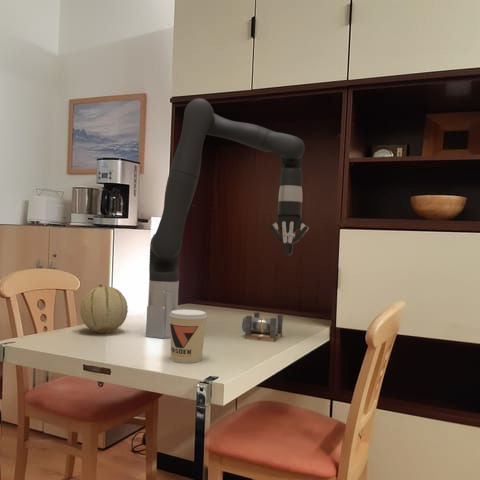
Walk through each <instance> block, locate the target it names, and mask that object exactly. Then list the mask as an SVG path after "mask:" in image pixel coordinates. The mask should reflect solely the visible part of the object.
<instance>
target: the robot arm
mask: <svg viewBox="0 0 480 480" xmlns="http://www.w3.org/2000/svg"><path fill="white" fill-rule="evenodd" d="M181 128H182V129H181V133H180V138H179V142H178V145H177V148H176V150H175V153H174V155H173V156H174V157H173V159H172V163H171V166H170V169H169V173H168V177H167V179H166V180H167V181H166V185H165V191H164V199H163V200H164V201H163V210H162V214H161V217H160V221H159V223H158V227H157V230H156V232H155V233H154V234H153V236H152V237H151V239H150V244H149V263H148V265H149V266H148V269H149V270H148V272H149V273H148V274H149V275H148V276H149V278H148V281H149V282H148V298H147V299H148V300H147V306H146V324H145V326H146V327H145V337H146V338H147V337H149V338H157V339H167V338H168V339H169V338H171V334H170V314H171V311H174V310H178V307H179V306H178V304H179V287H180V285H179V282H180V271H179V269H180V268H179V260H180V259H179V258H180V257H179V255H180V252H181V249H182V245H183V239H184V238H183V237H184V230H185V225H186V218H187V216H188V213H189V210H190V209H191V208H190V207H191V204H192V202H193V198H194V195H195V192H196V189H197V186H198V181H199V179H200V178H199V177H200V173H201V165H202V157H203V156H202V153H203V146H204V141H205V138H206V135H208V136H211V137H212V136H213V137H216V138H217V137H218V138H223V139H226V140H230V141H233V142H236V143H239V144H242V145H245V146H247V147H250V148H253V149H257V150H260V151H261V152H262V151H263V152H264V153H265V152H266V153H276V154H277V155H280V170H281V171H280V180H279V191H278V206H277V218H276V220H275V223H273V224H271V225H269V229H270V230H271V232H272V234H273V235H274V236H275V238H276V239H277V240H278V241H279V242H281V243H283V247H282V248H283V249H282V250H283V251H282V252H283V253H282V254H284V256H292V254H293V253H294V244H295V243H297V242H298V243H299V241H300V240H301V239H302V238H303V237H304V236H305V235H306V233H307V232H308V231H309V230H310V228H309V226H307V225H306V224H304V220H303V218H302V212H303V171H302V160H303V159H302V158H303V155H304V153H305V151H306V150H305V149H306V148H305V147H306V146H305V143H304V141H303V139H302V138H299V137H298V136H295V135H292V134H288V133H283V132H277V131H274V130H271V129H268V128H266V127H264V126H260V125H258V124H254V123H250V122H242V121H235V120H230V119H228V118H225V117H223V116H220V115H218V114H216V113H215V111H214V108H213V107H212V105H211V104H210V103H209V101H208V100H206V99H205V98H194V99H192V100H191V101H190V102H189V103H188V104H187V105H186V107H185V109H184V112H183V121H182V126H181ZM279 229H280V231H281V232H282V234H281V233H280V232H279ZM298 230H300V231H299V233H297V234H296V232H298Z"/></svg>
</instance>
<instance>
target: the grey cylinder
mask: <svg viewBox="0 0 480 480" xmlns="http://www.w3.org/2000/svg"><path fill="white" fill-rule="evenodd" d="M271 318H272V317H270V318H268V317H259V318H257V317H254V316H252V325H251V333H261V334H270V320H271ZM241 323H242V325H241V328H242V332H243V333H245V331H246V316H243V319H242V322H241ZM278 331H279V320H278V319H277V318H276V335H277V334H278Z"/></svg>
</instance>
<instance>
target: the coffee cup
mask: <svg viewBox="0 0 480 480" xmlns="http://www.w3.org/2000/svg"><path fill="white" fill-rule="evenodd" d="M207 318H208V316H207V313H206V311H203V310H198V309H177V310H174V311H171V314H170V334H171V337H170V359H171V361H173V362H175V363H183V364H190V363H193V364H194V363H198V362H199V363H200V362H201V361H202V356H203V349H204V340H205V333H206V332H205V331H206V321H207Z"/></svg>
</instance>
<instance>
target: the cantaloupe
mask: <svg viewBox="0 0 480 480" xmlns="http://www.w3.org/2000/svg"><path fill="white" fill-rule="evenodd" d="M128 307H129V306H128V302H127V300H126V298H125V296H124V295H123V293H122V292H121V291H120V290H119V289H118V288H115V287H112V286H105V285H104V284H102V283H100V284H99V285H98V286H97V287H93V288H92V289H90V290H89V291H88V292H87V293H86V294H85V295H84V297H83V298H82V301H81V303H80V311H79V313H80V318H81V320H82V323H83V324H84V325H85V326H86V327H87V329H89V330H91V331H93V332H97V333H99V334H106V333H109V332H113V331H115V330H117V329H119V328H120V327H121V326H122V325H123V324H124V323H125V321H126V319H127V317H128V315H127V314H128V312H129V311H128V310H129V309H128Z"/></svg>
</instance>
